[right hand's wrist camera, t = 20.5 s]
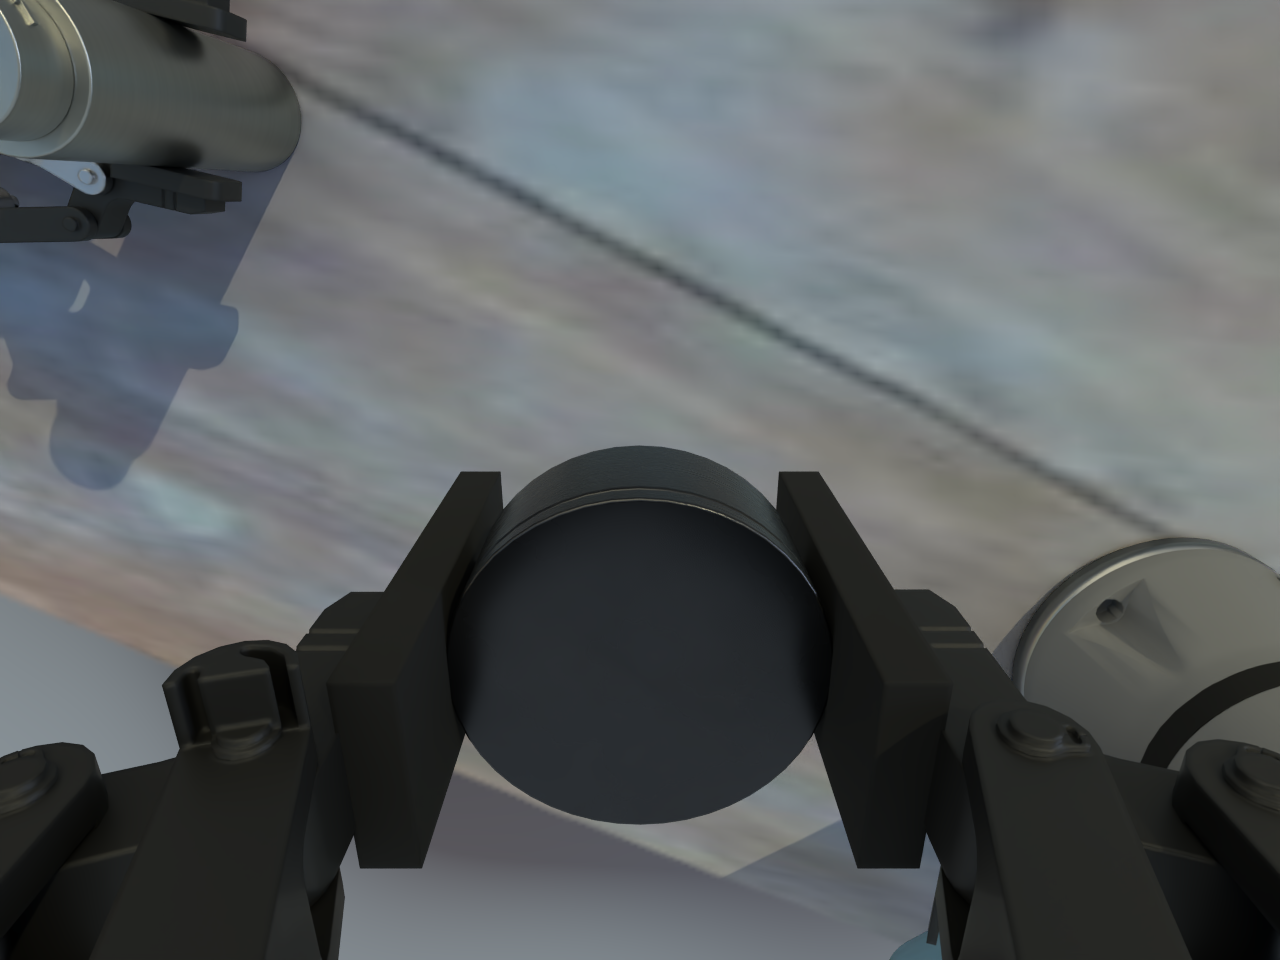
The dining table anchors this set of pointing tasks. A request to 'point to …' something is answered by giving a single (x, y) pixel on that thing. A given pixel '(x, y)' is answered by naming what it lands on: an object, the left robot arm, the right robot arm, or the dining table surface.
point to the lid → (639, 639)
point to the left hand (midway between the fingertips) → (231, 112)
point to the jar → (136, 91)
